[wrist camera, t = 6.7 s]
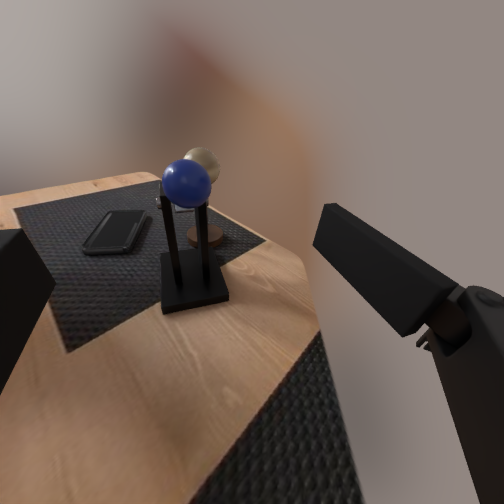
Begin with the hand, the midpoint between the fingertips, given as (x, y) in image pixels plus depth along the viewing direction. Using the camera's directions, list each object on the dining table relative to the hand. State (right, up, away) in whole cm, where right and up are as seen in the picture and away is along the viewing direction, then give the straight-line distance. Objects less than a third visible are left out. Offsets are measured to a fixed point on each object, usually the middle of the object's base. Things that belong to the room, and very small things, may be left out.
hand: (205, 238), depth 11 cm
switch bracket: (-7, -5, +24) cm, 26 cm away
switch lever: (-4, +3, +11) cm, 12 cm away
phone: (-24, +3, +33) cm, 41 cm away
